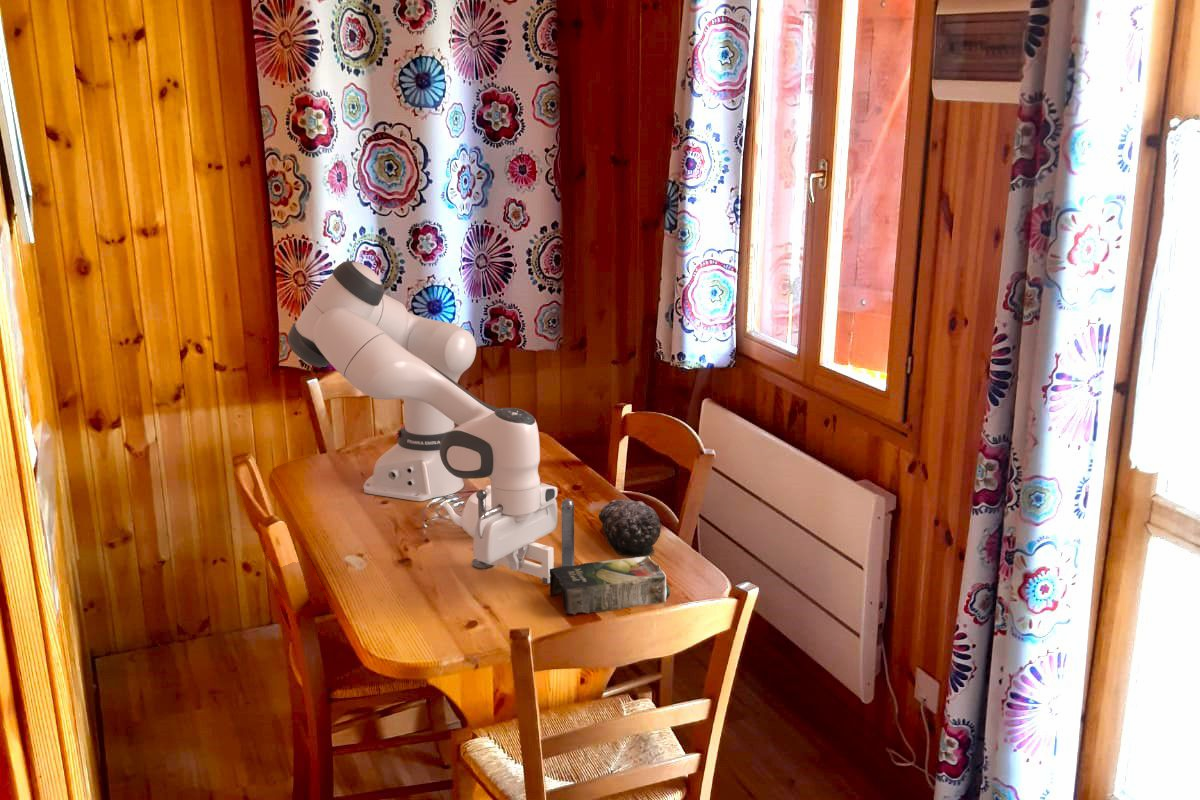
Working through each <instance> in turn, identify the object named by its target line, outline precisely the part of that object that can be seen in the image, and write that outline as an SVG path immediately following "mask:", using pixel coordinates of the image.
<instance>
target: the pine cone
mask: <svg viewBox="0 0 1200 800" xmlns="http://www.w3.org/2000/svg"><path fill="white" fill-rule="evenodd" d="M598 520H599V522H601V524H602V527H601V528H602V529H601V530H602V533H603V534H604V535H605V539H606V542H607V543H608V545H609V546H610V547H611V548H612V549H613V551H614V552H615V553H616V554H618V555H619V556H620V557H627V558H635V557H648V556H649V557H651V556H653V555H655V553H656V552H655V549H654V545H655V544H656V543H657V541H658V539H659V538H660V536H661V527H662V526H661V521H660V517H659V516H658V514H657V512H656V510H655V509H654V508H652V507H651V506H649V505H647V504H645V502H643V501H641V500H638V501H635V500H632V499H628V498H627V499H624V498H623V499H612V500H610V502H609V503H608V504H605V505H604V506H603V507H602V509H601V511H599V513H598Z"/></svg>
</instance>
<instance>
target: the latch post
mask: <svg viewBox="0 0 1200 800" xmlns="http://www.w3.org/2000/svg"><path fill="white" fill-rule="evenodd" d="M560 507H561V515H560V516H561V517H560V518H561V567H564V566H574V565H575V503H574V501H573V499H571V498H565V499H563V500H562V502H561V505H560Z"/></svg>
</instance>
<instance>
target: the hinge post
mask: <svg viewBox="0 0 1200 800" xmlns="http://www.w3.org/2000/svg"><path fill="white" fill-rule="evenodd" d="M485 490H486V489H482V488H481V489H478V490H477V491H476V492H477V493H476V492H475V493H476V496H477V498H478V517H479V518H480V517H481V516H482V513H483V512H485V511H486V501H485V498H486V497H487V493H486V491H485ZM471 566H472V568H474V569H476V570H489V569H492V568H493V567H495V566H494V565H491V564H488V563H484V562H481V561H478V560H476V558H474V559H473V560H471Z"/></svg>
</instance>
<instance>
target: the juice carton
mask: <svg viewBox="0 0 1200 800" xmlns="http://www.w3.org/2000/svg"><path fill="white" fill-rule="evenodd" d="M549 592H550V596H553V595H560V594H562V607H563V610H564V612H565V614H566V615H567V617H569V614H573V616H575V615H577V614H578V613H585V614H590V613H592V612H593V613H602V612H603V611H604V612H610V611H615V610H622V609H626V608H634V607H641V606H647V605H653V604H659V603H660V604H662V603H665V602H666V601H667V598H669V597H670V595H671V589H670V586H669V584H668V583H667V575H666V573H665V572H664V571H663V569H661V566H660V565H659V564H657V563H655V562H654V560H653V559H651V556H645V557H627V558H619V559H610V560H603V561H602V560H601V561H595V562H585V563H581V564H576V565H575V564H574V565H573V566H564V567H562V566H558V567H557V566H556V567H554V568H552V569H550V585H549Z"/></svg>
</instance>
